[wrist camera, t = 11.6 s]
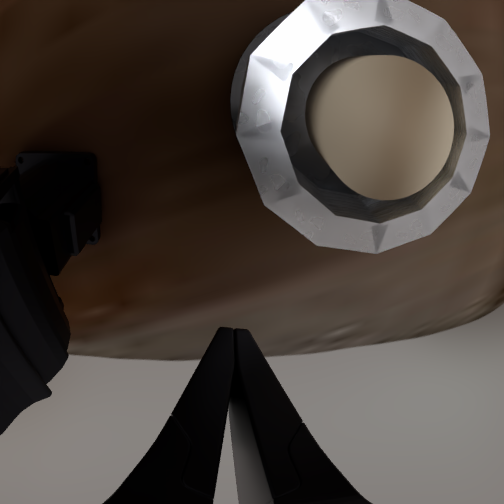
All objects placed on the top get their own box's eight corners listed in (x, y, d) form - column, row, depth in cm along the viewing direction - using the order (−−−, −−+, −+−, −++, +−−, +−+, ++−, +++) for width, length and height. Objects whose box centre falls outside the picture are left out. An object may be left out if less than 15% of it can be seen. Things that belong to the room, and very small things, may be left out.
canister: (217, 182, 19) (207, 242, 13) (250, -12, 12) (258, -56, 7) (392, 211, 20) (441, 271, 14) (438, 49, 14) (514, 57, 8)
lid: (292, 162, 14) (305, 186, 12) (318, 40, 11) (339, 33, 9) (400, 185, 15) (428, 211, 13) (431, 79, 12) (467, 87, 9)
